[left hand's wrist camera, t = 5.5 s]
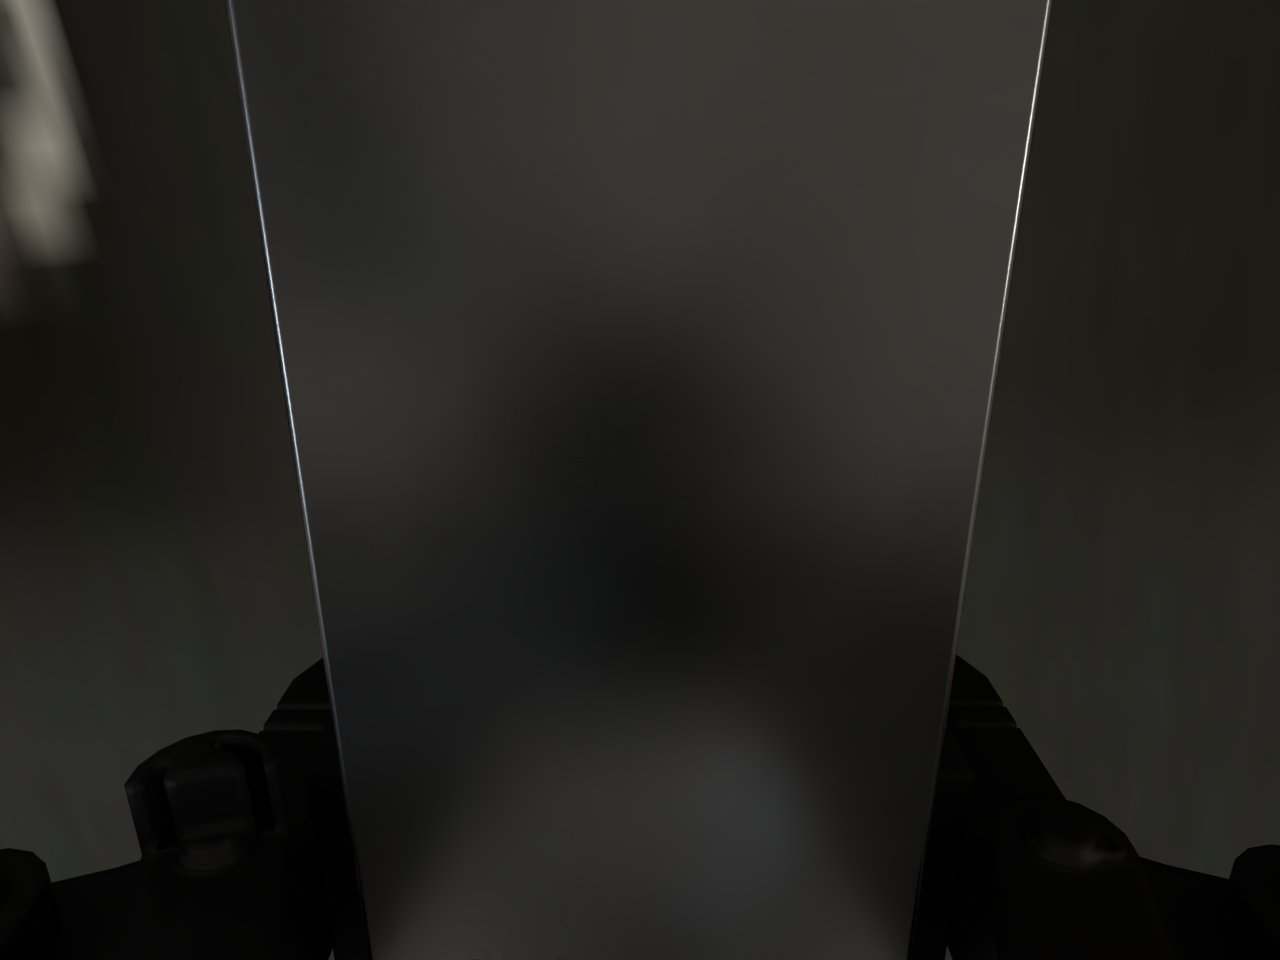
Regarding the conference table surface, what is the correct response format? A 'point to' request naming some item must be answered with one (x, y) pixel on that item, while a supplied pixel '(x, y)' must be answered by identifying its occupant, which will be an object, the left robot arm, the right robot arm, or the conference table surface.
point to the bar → (639, 446)
